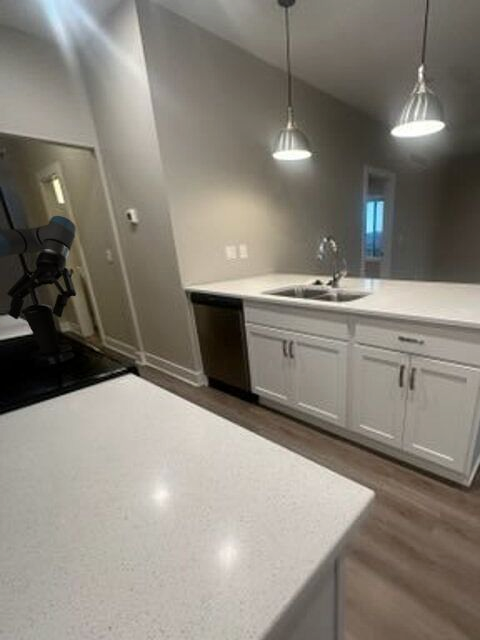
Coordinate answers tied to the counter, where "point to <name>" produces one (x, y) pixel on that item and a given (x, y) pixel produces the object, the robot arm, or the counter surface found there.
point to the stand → (53, 358)
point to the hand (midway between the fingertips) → (34, 316)
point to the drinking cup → (42, 325)
